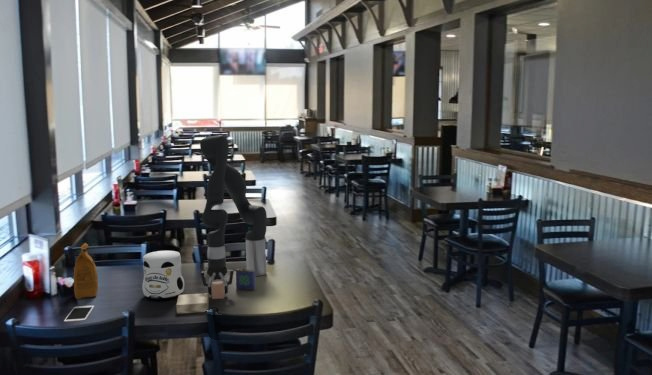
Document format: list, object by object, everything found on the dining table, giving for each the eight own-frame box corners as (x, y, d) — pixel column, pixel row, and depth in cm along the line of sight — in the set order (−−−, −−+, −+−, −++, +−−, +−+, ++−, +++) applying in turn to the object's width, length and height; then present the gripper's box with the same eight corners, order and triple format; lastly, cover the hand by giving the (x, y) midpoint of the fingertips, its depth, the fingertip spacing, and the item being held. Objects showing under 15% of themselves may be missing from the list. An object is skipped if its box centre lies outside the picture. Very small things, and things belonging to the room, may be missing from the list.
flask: (256, 289, 257) (256, 265, 255) (254, 291, 254) (253, 267, 253) (237, 287, 260) (236, 264, 258) (234, 289, 257) (233, 266, 255)
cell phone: (94, 306, 239) (94, 305, 238) (85, 321, 223) (84, 319, 223) (74, 308, 237) (74, 306, 237) (63, 322, 222) (63, 321, 222)
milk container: (147, 305, 238) (144, 262, 236) (139, 293, 254) (137, 253, 251) (189, 298, 246) (187, 257, 244) (179, 286, 262) (177, 248, 259)
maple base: (208, 302, 243) (208, 292, 242) (207, 312, 231) (207, 302, 230) (179, 304, 241) (178, 294, 240) (176, 314, 229) (176, 305, 228)
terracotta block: (224, 294, 251) (223, 281, 250) (224, 298, 246) (223, 284, 245) (212, 295, 250) (211, 281, 249) (212, 299, 245) (211, 285, 244)
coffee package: (101, 289, 259) (97, 241, 256) (97, 298, 247) (94, 248, 244) (77, 291, 257) (73, 242, 253) (72, 300, 245) (68, 249, 241)
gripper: (233, 252, 250) (234, 290, 253) (199, 254, 248) (201, 292, 250) (234, 257, 243) (235, 296, 246) (198, 259, 240) (200, 298, 243)
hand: (218, 294), depth 248 cm, fingers open, 5 cm apart
